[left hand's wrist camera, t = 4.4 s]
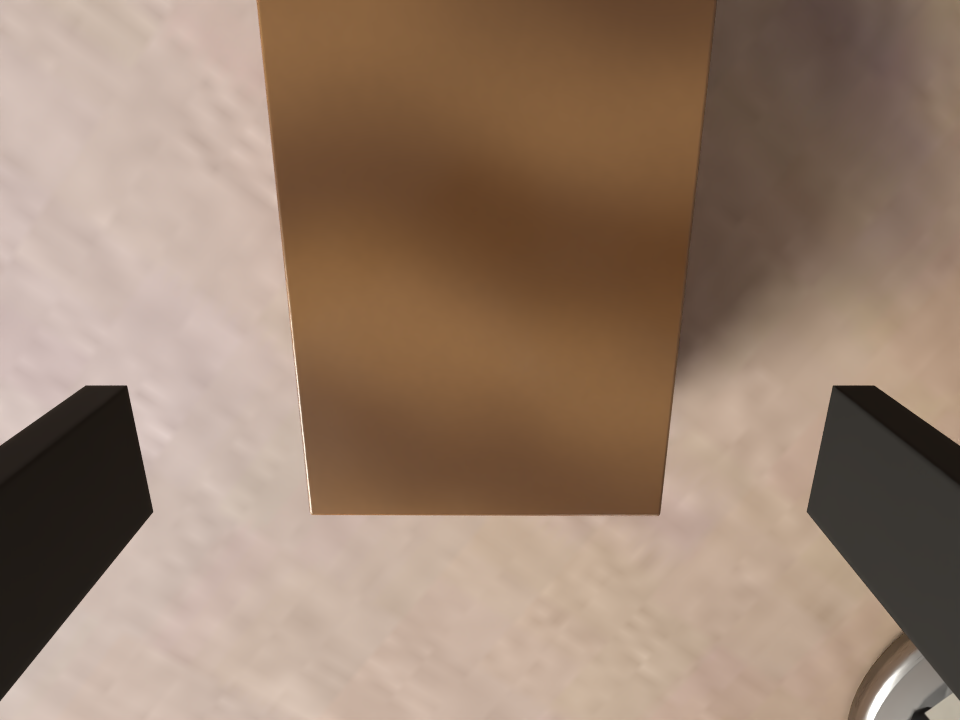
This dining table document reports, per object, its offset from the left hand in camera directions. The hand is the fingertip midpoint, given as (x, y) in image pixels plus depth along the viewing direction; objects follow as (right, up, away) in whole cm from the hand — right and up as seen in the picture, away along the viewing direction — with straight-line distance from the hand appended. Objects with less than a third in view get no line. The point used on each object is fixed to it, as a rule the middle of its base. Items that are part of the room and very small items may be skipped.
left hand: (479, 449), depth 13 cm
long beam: (0, +33, +1) cm, 33 cm away
